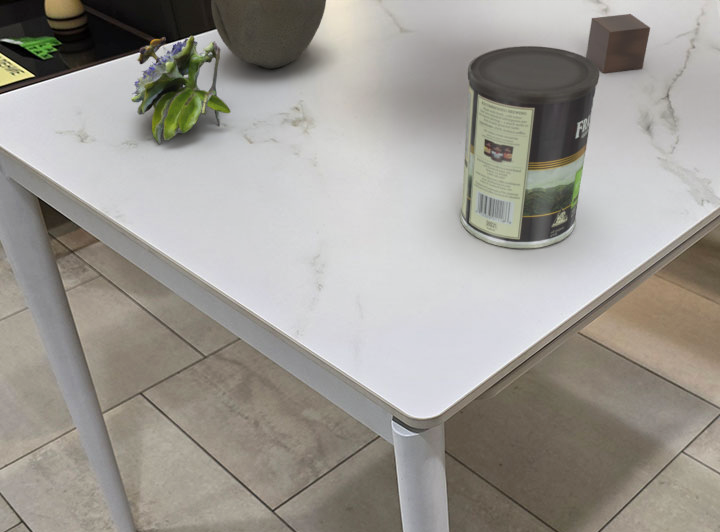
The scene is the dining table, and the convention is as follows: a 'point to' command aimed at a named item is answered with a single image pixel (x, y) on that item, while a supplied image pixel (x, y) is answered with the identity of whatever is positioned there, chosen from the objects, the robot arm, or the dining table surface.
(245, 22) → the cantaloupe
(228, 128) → the dining table surface
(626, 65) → the walnut block
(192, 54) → the passion flower
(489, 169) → the coffee can
